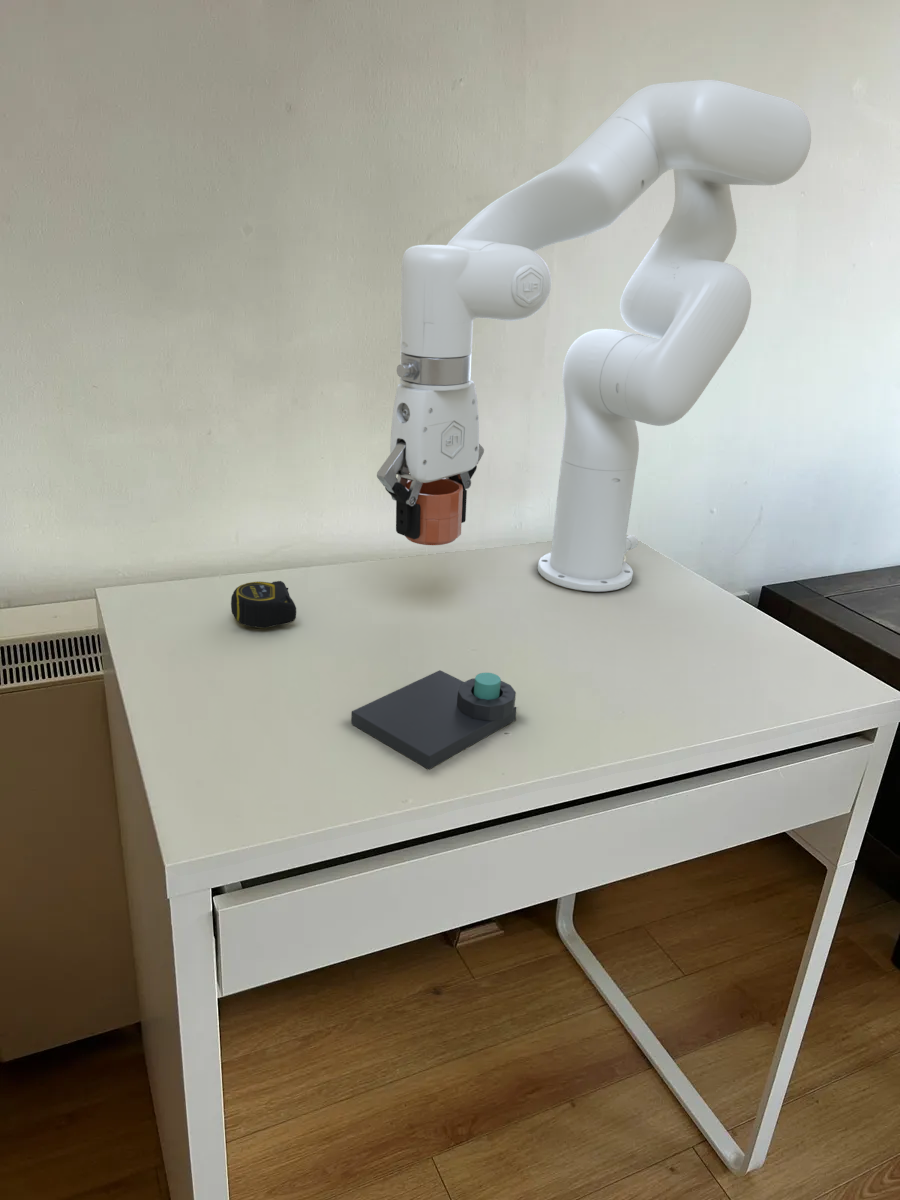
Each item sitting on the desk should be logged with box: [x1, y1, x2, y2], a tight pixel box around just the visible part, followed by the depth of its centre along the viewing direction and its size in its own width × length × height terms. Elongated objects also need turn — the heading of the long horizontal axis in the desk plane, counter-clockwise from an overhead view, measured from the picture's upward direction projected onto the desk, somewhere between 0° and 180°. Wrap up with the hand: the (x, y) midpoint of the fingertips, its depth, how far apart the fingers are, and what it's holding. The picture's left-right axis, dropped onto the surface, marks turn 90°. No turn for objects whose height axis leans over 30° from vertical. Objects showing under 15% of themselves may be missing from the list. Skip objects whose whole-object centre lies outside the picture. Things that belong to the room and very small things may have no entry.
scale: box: [350, 669, 517, 770], centre depth 84 cm, size 13×10×3 cm
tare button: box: [474, 672, 502, 700], centre depth 84 cm, size 2×2×2 cm
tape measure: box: [230, 580, 297, 629], centre depth 102 cm, size 7×7×4 cm
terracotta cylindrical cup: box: [404, 478, 463, 546], centre depth 102 cm, size 7×7×6 cm
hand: (431, 526), depth 103 cm, fingers closed on terracotta cylindrical cup, 6 cm apart
